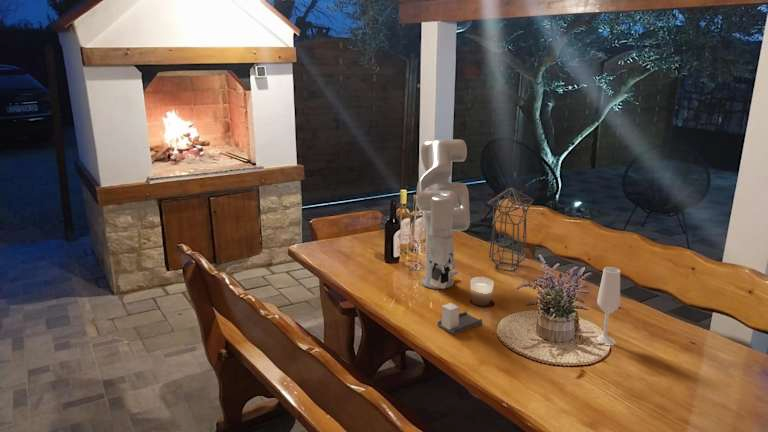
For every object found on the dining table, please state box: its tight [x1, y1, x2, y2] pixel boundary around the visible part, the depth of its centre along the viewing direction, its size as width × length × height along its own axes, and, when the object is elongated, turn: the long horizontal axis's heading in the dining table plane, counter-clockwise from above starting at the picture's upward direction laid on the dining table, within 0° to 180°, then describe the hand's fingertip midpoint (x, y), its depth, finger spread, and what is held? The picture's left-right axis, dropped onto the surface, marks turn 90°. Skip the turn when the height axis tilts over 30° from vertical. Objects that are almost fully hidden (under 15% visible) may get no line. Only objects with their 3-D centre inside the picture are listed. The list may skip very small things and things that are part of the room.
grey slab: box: [437, 311, 483, 336], centre depth 195 cm, size 13×8×2 cm, turn 127°
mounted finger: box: [441, 302, 460, 330], centre depth 192 cm, size 5×4×7 cm
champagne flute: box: [596, 266, 621, 347], centre depth 181 cm, size 7×7×24 cm
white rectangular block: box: [430, 265, 452, 290], centre depth 205 cm, size 5×4×7 cm
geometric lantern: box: [486, 187, 535, 272], centre depth 243 cm, size 16×16×35 cm
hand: (440, 279), depth 206 cm, fingers closed on white rectangular block, 3 cm apart
